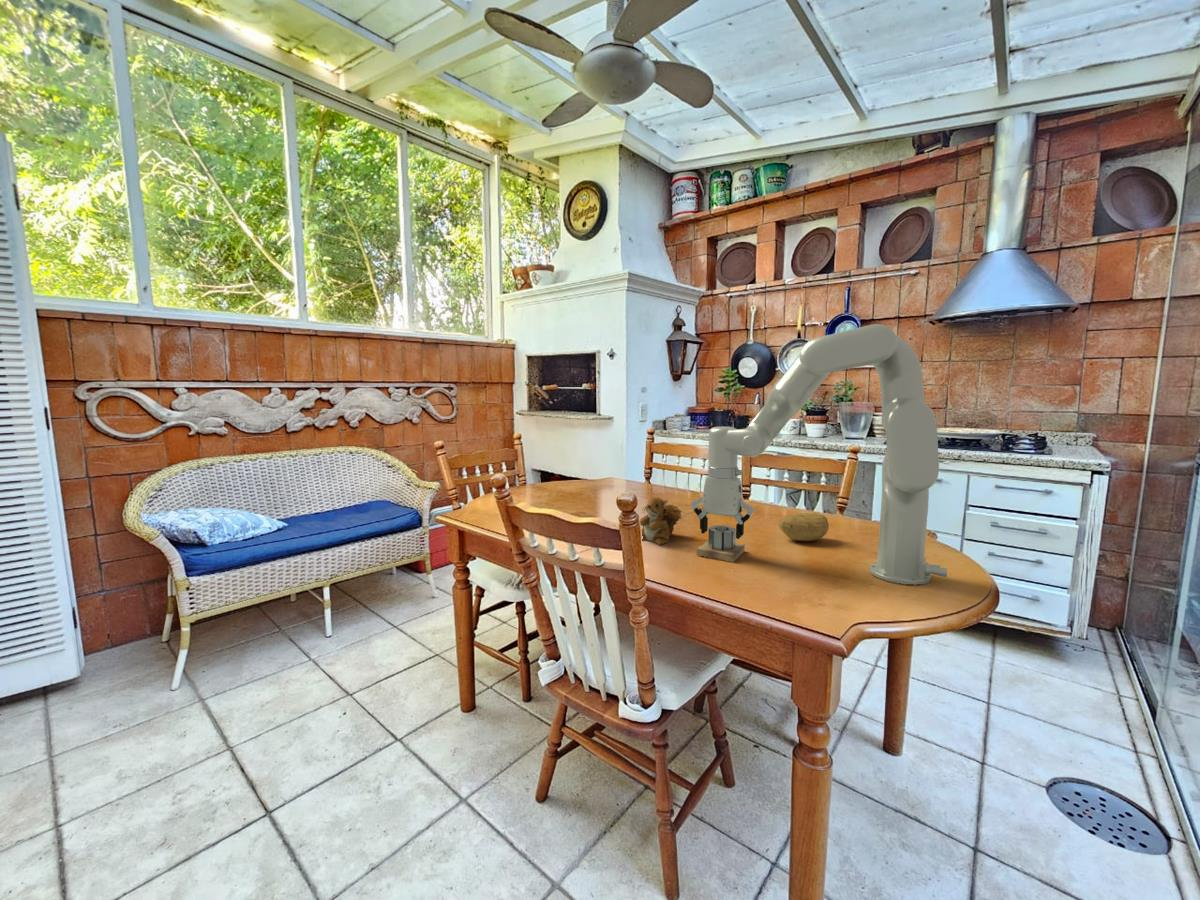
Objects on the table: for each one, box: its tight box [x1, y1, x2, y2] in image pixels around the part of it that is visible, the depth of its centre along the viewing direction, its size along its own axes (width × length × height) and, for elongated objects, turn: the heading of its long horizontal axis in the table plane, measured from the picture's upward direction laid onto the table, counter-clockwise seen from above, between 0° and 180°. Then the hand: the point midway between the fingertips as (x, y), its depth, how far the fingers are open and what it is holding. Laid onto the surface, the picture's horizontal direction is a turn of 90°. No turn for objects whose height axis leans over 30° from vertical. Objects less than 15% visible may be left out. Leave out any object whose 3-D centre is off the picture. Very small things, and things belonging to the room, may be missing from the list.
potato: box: [778, 512, 830, 542], centre depth 150 cm, size 10×14×8 cm
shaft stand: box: [696, 525, 746, 563], centre depth 139 cm, size 10×10×8 cm
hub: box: [707, 524, 737, 551], centre depth 139 cm, size 7×7×5 cm
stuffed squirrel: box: [639, 495, 683, 546], centre depth 153 cm, size 10×14×13 cm
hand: (721, 534), depth 139 cm, fingers open, 9 cm apart
